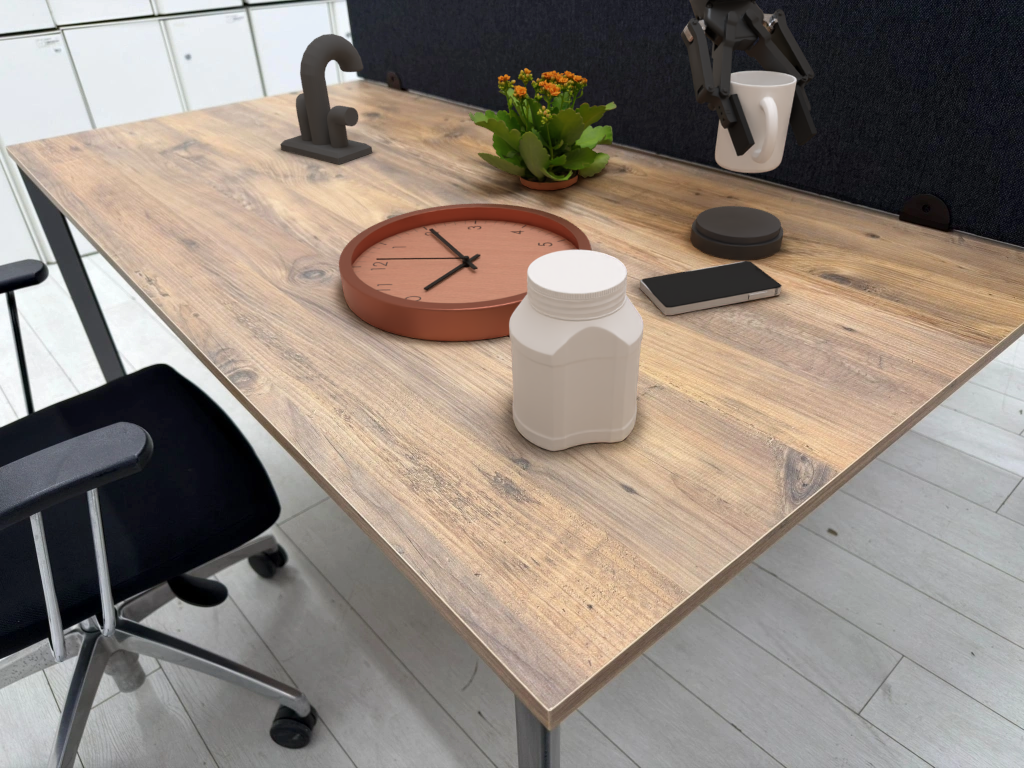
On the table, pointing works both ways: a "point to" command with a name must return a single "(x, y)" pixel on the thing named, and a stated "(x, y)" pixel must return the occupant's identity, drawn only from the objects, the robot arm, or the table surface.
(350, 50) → the faucet
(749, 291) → the smartphone
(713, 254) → the stand
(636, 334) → the jar
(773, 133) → the mug
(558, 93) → the potted flower
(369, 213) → the table surface
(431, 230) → the clock
